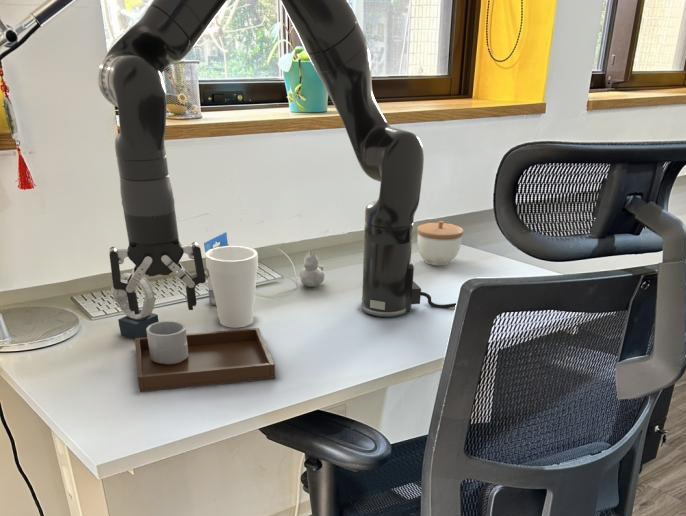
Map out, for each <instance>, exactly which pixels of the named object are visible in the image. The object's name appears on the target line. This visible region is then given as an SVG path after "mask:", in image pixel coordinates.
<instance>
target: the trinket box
mask: <svg viewBox="0 0 686 516" xmlns="http://www.w3.org/2000/svg"><path fill="white" fill-rule="evenodd" d="M416 229H417V232H416V233H417V235H416V237H417V238H416V240H417V241H416V244H417V245H416V246H417V250H418V252H419V255H420V257H421V258H422V259H423V260H424V262H425V263H426V264H427V265H432V266H447V265H450V263H451V262H452V261H453V260H454V259H455V258H456V257H457V256H458V254H459V252H460V249H461V246H462V240H463V235H464V229H463V228H462V227H460V226H459V225H456V224H452V223H447V222H446V223H445V222H444V221H443V220H439V221H438V222H428V223H427V222H426V223H423V224H420V225H418V226H417V228H416Z"/></svg>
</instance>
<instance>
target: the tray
mask: <svg viewBox="0 0 686 516" xmlns="http://www.w3.org/2000/svg"><path fill="white" fill-rule="evenodd" d="M186 336H187V344H188V353H189V356H188V357H187V358H186V359H185V360H183V361H182V362H180V363H177V364H171V365H164V364H159V363H157V362H154V361H153V360H151V358H150V351H149V345H148V338H147V337H142V338H135V340H134V347H135V363H136V376H137V377H136V378H137V384H138V391H139V393H146V392H147V393H148V392H157V391H166V390H167V391H168V390H176V389H177V390H178V389H189V388H196V387H206V386H207V387H208V386H216V385H226V384H237V383H245V382H256V381H265V380H275V379H276V365H275V362H274V360H273V357H272V355H271V352H270V350H269V348H268V346H267V343H266V340H265V338H264V337H263V334H262V332H261V330H260V328H259V327H255V328H254V327H251V328H240V329H230V330H228V329H227V330H217V331H216V330H215V331H204V332H192V333H186Z"/></svg>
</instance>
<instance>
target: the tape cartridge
mask: <svg viewBox="0 0 686 516" xmlns="http://www.w3.org/2000/svg"><path fill="white" fill-rule="evenodd" d="M216 243H217V244H218V243H219V244H218V245H217V246H215V247H214V245H216ZM223 246H231V245H229V243H228V233H227V231H225V232H223V233H222V234H221V233H220V234H219V235H217V236H215V237H213V238H211V239H209V240H207V241H205V242H203V247H204V253H206V252H207V251H208V250H210V249H213V248H217V247H223ZM206 274H207V286H208V287H207V288H208V299H209V305H210V306H211V305H212V306H216V301H215V297H214V292H213V288H212V283H211V279H210V274H209V270H208V269H207V268H206Z"/></svg>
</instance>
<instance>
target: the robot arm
mask: <svg viewBox="0 0 686 516" xmlns="http://www.w3.org/2000/svg"><path fill="white" fill-rule="evenodd" d="M228 1H229V0H152V2H151V3H150V5H149V6H148V7H147V9H146V10H145V12H144V13H143V15H142V16H141V18H140V19H139V20H138V21H137V22H136V23H135V24H134V25H132V26H131V27H130V28H129V29H128V30H127V31H126V32H125V33H124V34H123V35H122V36H121V37H120V38H119V39H118V40H117V41H116V42H115V43H114V44H113V45H112V46H111V47H110V49H108V51H107V52H106V54H105V55H104V56H103V58H102V60H101V62H100V64H99V67H98V70H97V85H98V88H99V90H100V93H101V95H102V96H103V98H104V99H105V100H106V101H107V102H109V104H111V105H112V106H114V107H117V112H118V123H119V133H118V134H117V135H116V136H115V138H114V152H115V156H116V163H117V169H118V174H119V188H120V190H119V191H120V200H121V206H122V210H123V217H124V222H125V227H126V228H125V229H126V235H127V239H128V246H127V248H117V247H116V246H111V247H110V248H109V262H110V270H111V279H112V280H111V281H112V284H113V287H114V288H115V289H116V290H119V289H121V290H124V291H125V292H126V293H127V299H128V301H127V302H128V303H129V309H130V310H131V311H134V312H135V314H139V310H140V308H139V302H138V296H137V295H138V294H137V290H136V289H137V286H138V283H139V282H140V281H141V279H142V277H143V276H144V275H146V276H148V277H155V276H170V274H172V273H173V274H174V275H175V276H176V277H177V278H178V279H179V280H181V281H182V283H184V286H185V295H186V302H187V308H188V311H193V310H194V307H196V306H197V293H196V287H197V286H198V285H200V284H205V282H206V280H207V279H206V272H205V267H204V261H203V256H202V251H201V246H200V243H199V242H197V241H193V242H192V243H191V244H185V245H182V244H181V242H180V238H179V231H178V223H177V214H176V207H175V198H174V192H173V191H174V190H173V187H172V183H171V179H170V175H169V174H170V172H169V167H168V157H167V151H166V145H165V140H166V139H165V137H166V130H167V128H166V127H167V92H166V87H165V83H164V79H163V76H162V74H163V73H164V71H165V70H166V69H167V68H168V67H170V66H171V65H173V64H176V63H179V62H181V61H182V60H184V59H185V58H186V57H187V56H188V55H189V54H190V53H191V51H192V49H193V48H194V47H195V46H196V44H197V43H198V42H199V40H200V38H202V36H203V35H204V33H205V32H206V30H208V27H209V26H211V23H213V21H214V20H215V17H216V16H217V15H218V14H219V13H220V12H221V10H222V9H223V7H224V6H225V5H226V4H227V2H228ZM280 2H281V4H282V6H283V8H284V10H285V12H286V14H287V16H288V18H289V20H290V22H291V24H292V25H293V29H295V31H296V33H297V35H298V38H299V40H300V42H301V44H302V46H303V48H304V50H305V52H306V54H307V57H308V58H309V60H310V63H311V64H312V66H313V68H314V70H315V72H316V73H317V76H318V77H319V79H320V81H321V82H322V85H323V86H324V88H325V90H326V92H327V94H328V96H329V98H330V100H331V102H332V104H333V106H334V108H335V110H336V111H337V113H338V115H339V117H340V119H341V122H342V124H343V126H344V129H345V131H346V134H347V136H348V139H349V142H350V144H351V147H352V150H353V152H354V155H355V157H356V160H357V162H358V164H359V167H360V169H361V170H362V171H363V173H364V174H365V175H366V176H367V177H368V178H370V179H372V180H374V181H377V182H380V185H379V194H378V199H377V200H375V201H371V202H369V203H368V204H367V205H366V206H365V210H364V232H363V258H362V259H363V260H362V261H363V263H362V295H361V296H362V297H361V307H360V308H361V310H362V311H363V312H364V313H366V314H367V315H371V316H374V317H379V318H394V317H400V316H403V315H404V314H407V313H411V311H412V305H420V304H421V297H425V298H426V299H427V304H428V305H429V306H430V307H433V308H437V309H449V308H450V309H451V308H456V307H455V305H456V303H457V302H454V303H453V302H452V303H448V304H446V303H445V304H438V303H434V301H432V296H431V295H430V294H428V293H427V292H424V291H422V288H421V287H420V286H419V285H418V284H417V283H416V281H414V271H415V266H414V264H413V263H412V262H411V261H412V248H413V230H414V219H415V218H414V217H415V215H416V212H417V209H418V207H419V204H420V198H421V189H422V181H423V174H424V163H425V160H424V159H425V158H424V157H425V156H424V155H425V154H424V147H423V144H422V142H421V139H420V137H418V136H417V135H416V134H415V133H414V132H411V131H408V130H405V129H401V128H396V127H393V126H391V125H390V124H389V123H388V122H387V120H386V118H385V116H384V115H383V113H382V111H381V109H380V107H379V104H378V103H377V100H376V98H375V94H374V91H373V84H372V82H373V81H372V73H373V72H372V70H373V69H372V56H371V50H370V47H369V44H368V41H367V38H366V36H365V34H364V32H363V29H362V27H361V25H360V22H359V20H358V18H357V16H356V14H355V12H354V10H353V8H352V6H351V4H350V2H349V1H348V0H280ZM184 254H187V257H188V258H189V259H190V260H193V262H194V263H193V264H194V268H195V274H192V275H191V274H190V272H189V271H187V270H186V268H185V267H184V265H182V264H181V263H180V261H181V260H182V257H183V256H184ZM127 257H128V259H129V260H130V261H131V262H132V263H133V264H134V267H133V268H132V270H131V272H130V273H131V274H130V276H129V278H128V280H123V279H121V275H122V274H121V268H120V265H123V264H124V263H125V259H126V258H127ZM144 277H145V276H144Z"/></svg>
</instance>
